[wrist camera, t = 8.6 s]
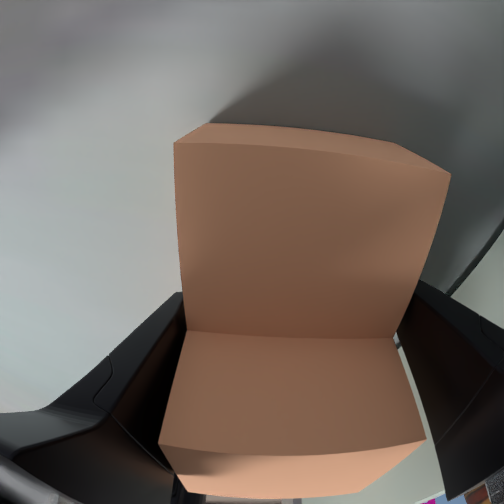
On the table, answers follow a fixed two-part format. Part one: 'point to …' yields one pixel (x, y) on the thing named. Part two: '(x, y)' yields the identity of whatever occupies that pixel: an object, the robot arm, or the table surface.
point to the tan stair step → (295, 309)
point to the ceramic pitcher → (477, 496)
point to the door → (424, 457)
